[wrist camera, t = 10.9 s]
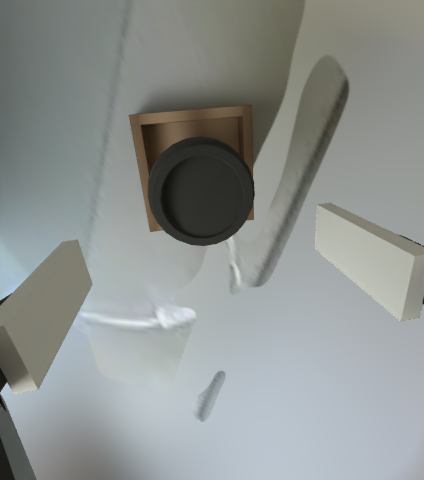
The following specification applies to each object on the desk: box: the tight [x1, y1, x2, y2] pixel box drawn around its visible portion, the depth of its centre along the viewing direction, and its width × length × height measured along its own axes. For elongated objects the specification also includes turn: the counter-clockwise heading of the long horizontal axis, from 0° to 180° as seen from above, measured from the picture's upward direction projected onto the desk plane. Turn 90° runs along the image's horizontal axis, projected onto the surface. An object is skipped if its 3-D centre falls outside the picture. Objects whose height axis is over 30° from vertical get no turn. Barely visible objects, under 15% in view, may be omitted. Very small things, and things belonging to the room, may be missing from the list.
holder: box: [129, 105, 254, 232], centre depth 32 cm, size 13×13×4 cm
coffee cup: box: [148, 136, 255, 246], centre depth 26 cm, size 8×8×15 cm
